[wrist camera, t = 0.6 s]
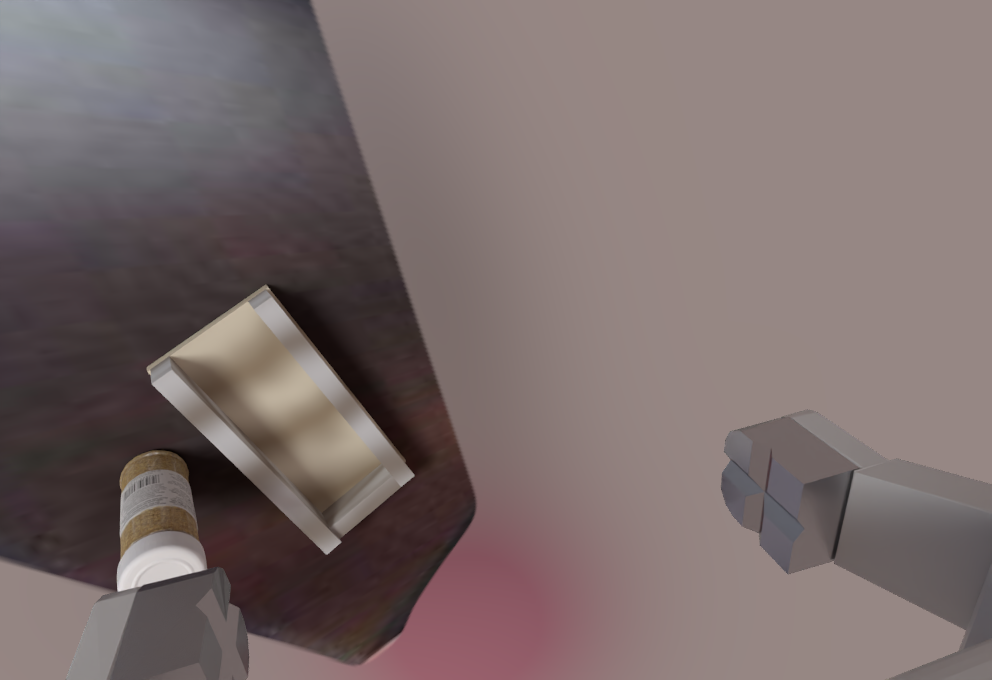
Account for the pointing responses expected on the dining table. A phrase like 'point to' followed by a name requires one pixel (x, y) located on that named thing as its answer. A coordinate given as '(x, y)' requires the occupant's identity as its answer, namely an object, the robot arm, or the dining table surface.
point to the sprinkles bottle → (157, 521)
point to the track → (283, 417)
